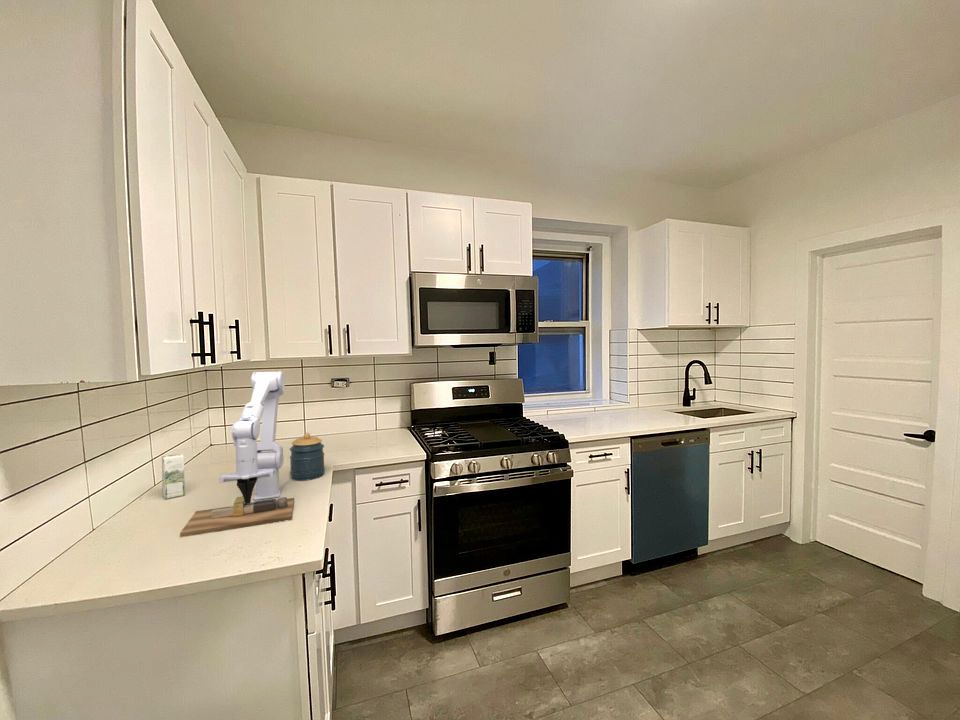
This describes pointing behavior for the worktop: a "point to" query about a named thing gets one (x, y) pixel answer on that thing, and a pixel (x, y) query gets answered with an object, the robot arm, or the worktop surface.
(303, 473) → the canister
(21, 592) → the worktop surface
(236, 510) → the wooden u-shaped block
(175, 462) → the syrup box
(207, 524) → the tong board
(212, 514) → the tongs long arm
